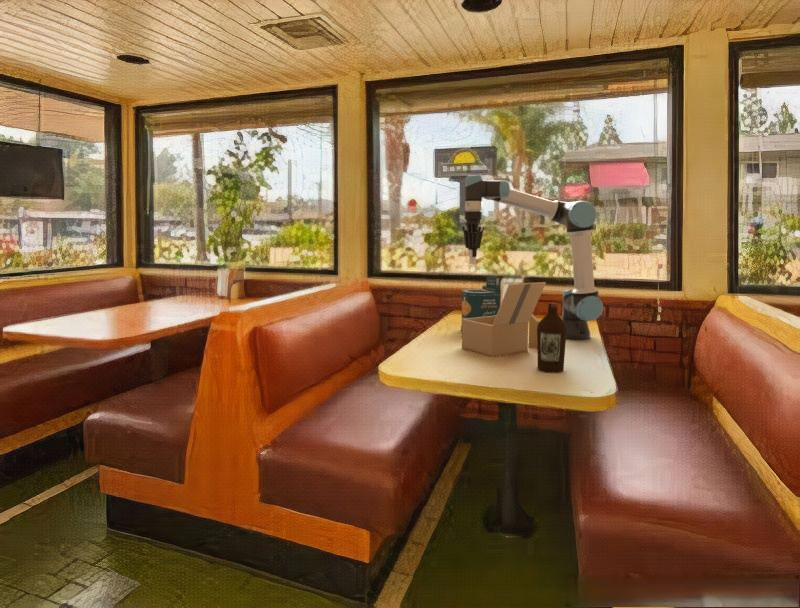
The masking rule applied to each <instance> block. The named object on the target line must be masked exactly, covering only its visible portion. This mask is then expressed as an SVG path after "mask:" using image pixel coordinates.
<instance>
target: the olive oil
mask: <svg viewBox="0 0 800 608" xmlns="http://www.w3.org/2000/svg"><path fill="white" fill-rule="evenodd" d="M547 305H548V306H547V313H546V315H544V317H542V318H541V320H539V324H538V327H537V350H536V351H537V370H538V371H539V372H543V371H544V372H543V373H548V372H558V373H563V371H564V369H565V355H566V344H567V338H566V335H567V327H566V324H565V322H564V321H563V320H562V317H561V316H559V314H558V303H556V302H549V303H548V304H547Z"/></svg>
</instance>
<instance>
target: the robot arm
mask: <svg viewBox="0 0 800 608" xmlns="http://www.w3.org/2000/svg"><path fill="white" fill-rule="evenodd" d="M464 197H465V198H464V210H465V211H464V220H465V221H466V223H465V225H464V226H462V232H463V239H464V246H465V249H467V250H468V257H469V258H468V264H469V265H476V264H477V255H478V254H477V250H478V249H480V248H481V244H482V237H483V233H484V230H485V227H484V226H481V220H482V219H483V218H482V217H483V212H482V211H483V199H485V200H487V201H489V200H490V201H494V202H497V203H501V204H504V205H507V206H511V207H513V208H514V207H515V208H518V209H521V210H523V211H526V212H529V213H533V214H537V215H540V216H542V217H546V218H548V220H549V221H552V222H555V223H557V224H560V225H563V226H564V227H566V228H565V229H566V233H567V235H569V236H570V244H571V248H570V249H571V256H572V257H571V259H572V269H573V270H572V271H573V284H574V288H573V289H565V290H564V291H563V293H562V307H561V308H562V311H561V312H562V314H561V315H562V316H561V319H562V320H563V321H564V322H565V324H566V327H567V335H566V340H568V339H569V340H588V339H590V338H591V330H590V327H589V324H588V322H592V321H594V320H597V319H598V318H600V316H601V315H602V313H603V310H604V304H603V301H602V300H601V299H600V298H599V289H598V288H597V287H595V277H594V263H593V252H592V251H593V250H592V249H593V248H592V237H591V236H592V235H591V234H592V232H593V231H594V230H595V229H594V223H595V221H596V220H597V210H596V208H595V206H594V205H593V204H592V203H591V202H589V201H587V200H586V201H585V200H576V201H569V202H567V201H560V200H557V199H556V200H554V201H552V200H549V199H546V198H543V197H540V196H537V195H532V194H530V193H526V192H523V191H519V190H517V189H513V188H511V184H510V181H508V180H502V179H501V180H499V179H497V180H496V179H495V180H494V179H493V180H491V179H490V180H486V179H483V176H482V175H476V174H473V175H467V176H466V177H465V185H464Z"/></svg>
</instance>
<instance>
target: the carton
mask: <svg viewBox="0 0 800 608" xmlns="http://www.w3.org/2000/svg"><path fill="white" fill-rule="evenodd" d="M495 318H496V316H487V317H477V318H467V319H462V318H461V326H462V331H461V349H463V350H466V351H470V352H472V353H473V352H474V353H476V352H477V354H480V353H481V355H483V354H485V355H484V356H486V355H488V356H487V357H490V356H495V357H499V355H501V356H506V355H505V354H508V355H514V354H520V352H521V353H526V352H525V351H527V352H528V349H529V322H521V323H514V324H504V325H495V326H493V323H494V320H495ZM513 353H514V354H513Z"/></svg>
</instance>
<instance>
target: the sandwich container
mask: <svg viewBox="0 0 800 608" xmlns="http://www.w3.org/2000/svg"><path fill="white" fill-rule="evenodd" d="M539 322H540V320H539V319H538V318H537V317H536V316H535V315H534V314H533V313H532V316H531V318H530V320H529V322H528V348H534V347H537V327H538V324H539Z"/></svg>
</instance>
